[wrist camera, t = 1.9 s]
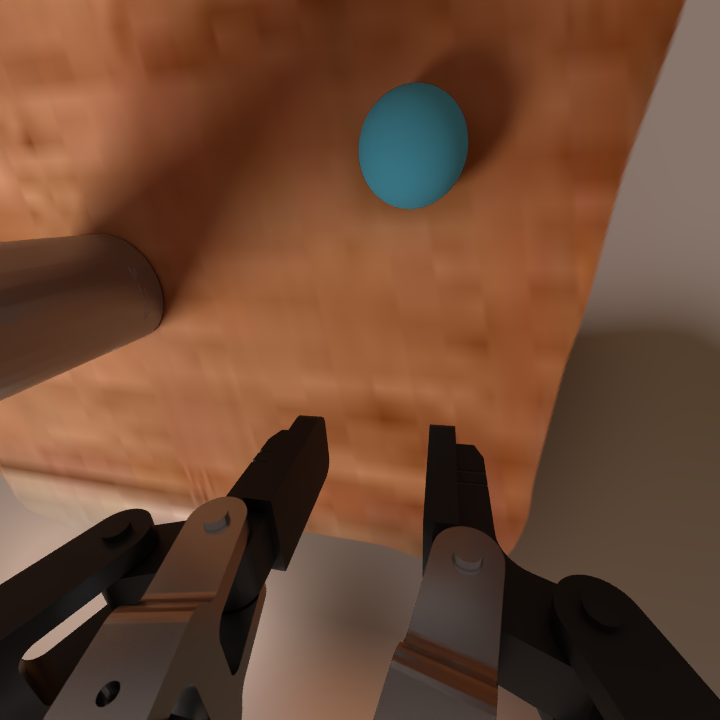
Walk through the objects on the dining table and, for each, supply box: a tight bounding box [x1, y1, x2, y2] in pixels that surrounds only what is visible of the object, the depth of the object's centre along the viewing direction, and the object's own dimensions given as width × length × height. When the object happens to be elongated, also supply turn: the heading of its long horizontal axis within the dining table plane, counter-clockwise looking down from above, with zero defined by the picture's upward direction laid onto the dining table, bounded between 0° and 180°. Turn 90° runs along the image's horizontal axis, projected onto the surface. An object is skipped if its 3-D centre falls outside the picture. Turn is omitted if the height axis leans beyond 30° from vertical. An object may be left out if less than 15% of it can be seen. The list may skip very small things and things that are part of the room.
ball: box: [359, 82, 468, 209], centre depth 20 cm, size 6×6×6 cm
